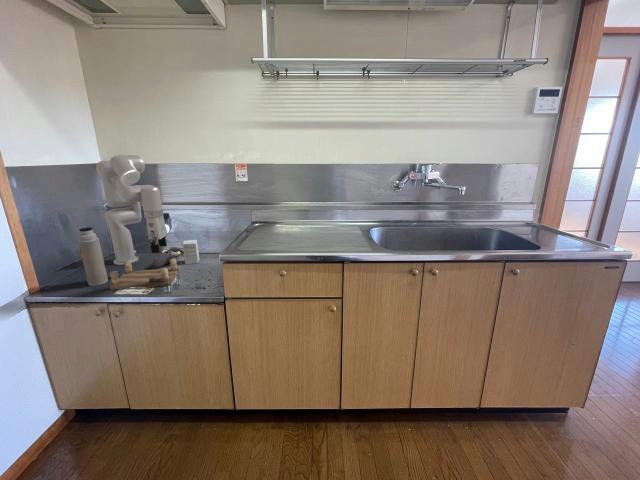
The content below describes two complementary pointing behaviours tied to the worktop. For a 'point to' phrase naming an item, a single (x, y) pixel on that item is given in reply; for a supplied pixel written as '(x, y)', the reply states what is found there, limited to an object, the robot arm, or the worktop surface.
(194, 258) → the supplement box
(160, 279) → the swing leg
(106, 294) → the worktop surface
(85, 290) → the worktop surface
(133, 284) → the stool seat
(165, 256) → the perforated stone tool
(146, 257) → the worktop surface
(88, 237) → the thermos bottle
